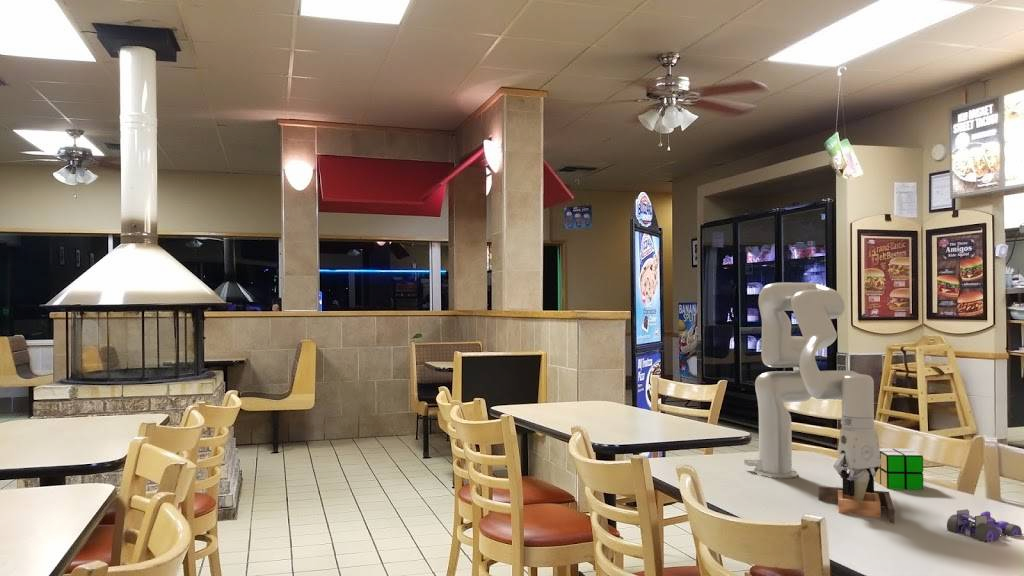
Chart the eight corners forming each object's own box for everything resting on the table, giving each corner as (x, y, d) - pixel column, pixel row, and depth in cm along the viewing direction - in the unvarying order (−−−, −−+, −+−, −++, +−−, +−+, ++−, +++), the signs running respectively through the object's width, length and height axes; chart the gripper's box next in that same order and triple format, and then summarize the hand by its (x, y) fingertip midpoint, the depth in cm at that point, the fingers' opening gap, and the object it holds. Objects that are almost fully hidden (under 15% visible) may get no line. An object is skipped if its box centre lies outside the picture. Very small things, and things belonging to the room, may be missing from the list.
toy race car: (1032, 540, 173) (1031, 512, 173) (984, 549, 168) (983, 519, 168) (992, 528, 182) (992, 501, 182) (946, 536, 177) (946, 508, 177)
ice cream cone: (870, 515, 190) (870, 455, 190) (848, 513, 192) (848, 454, 192) (868, 510, 195) (868, 451, 195) (846, 508, 196) (846, 450, 196)
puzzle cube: (909, 481, 225) (908, 448, 225) (924, 490, 215) (923, 455, 215) (874, 481, 226) (873, 447, 226) (887, 490, 216) (887, 455, 216)
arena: (818, 520, 188) (818, 502, 188) (818, 502, 204) (818, 485, 204) (894, 528, 181) (894, 509, 181) (889, 509, 197) (888, 491, 197)
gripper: (843, 428, 186) (844, 501, 186) (894, 422, 193) (895, 493, 193) (820, 423, 193) (821, 493, 193) (870, 418, 200) (871, 486, 200)
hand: (858, 492), depth 193 cm, fingers open, 6 cm apart
